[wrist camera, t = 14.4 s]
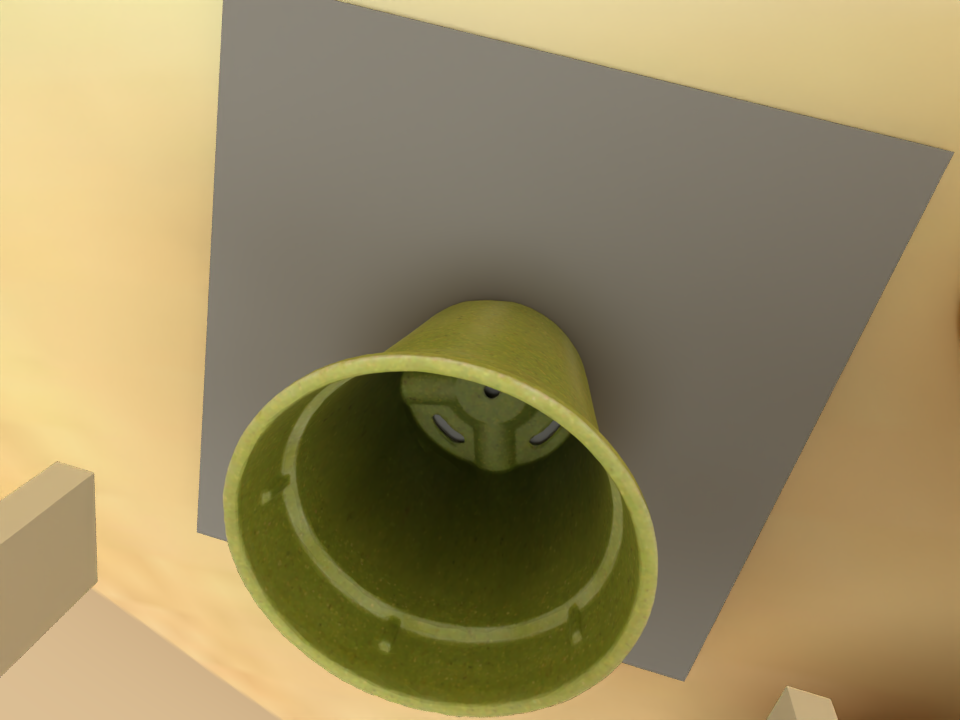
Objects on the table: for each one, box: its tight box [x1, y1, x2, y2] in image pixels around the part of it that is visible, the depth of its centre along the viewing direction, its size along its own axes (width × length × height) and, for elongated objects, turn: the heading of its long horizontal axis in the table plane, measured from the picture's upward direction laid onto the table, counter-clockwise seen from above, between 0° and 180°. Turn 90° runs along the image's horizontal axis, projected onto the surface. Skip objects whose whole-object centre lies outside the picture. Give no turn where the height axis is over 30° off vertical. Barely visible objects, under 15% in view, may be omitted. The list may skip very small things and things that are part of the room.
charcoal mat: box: [197, 0, 954, 681], centre depth 22 cm, size 20×20×1 cm
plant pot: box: [223, 300, 658, 717], centre depth 18 cm, size 9×9×9 cm
